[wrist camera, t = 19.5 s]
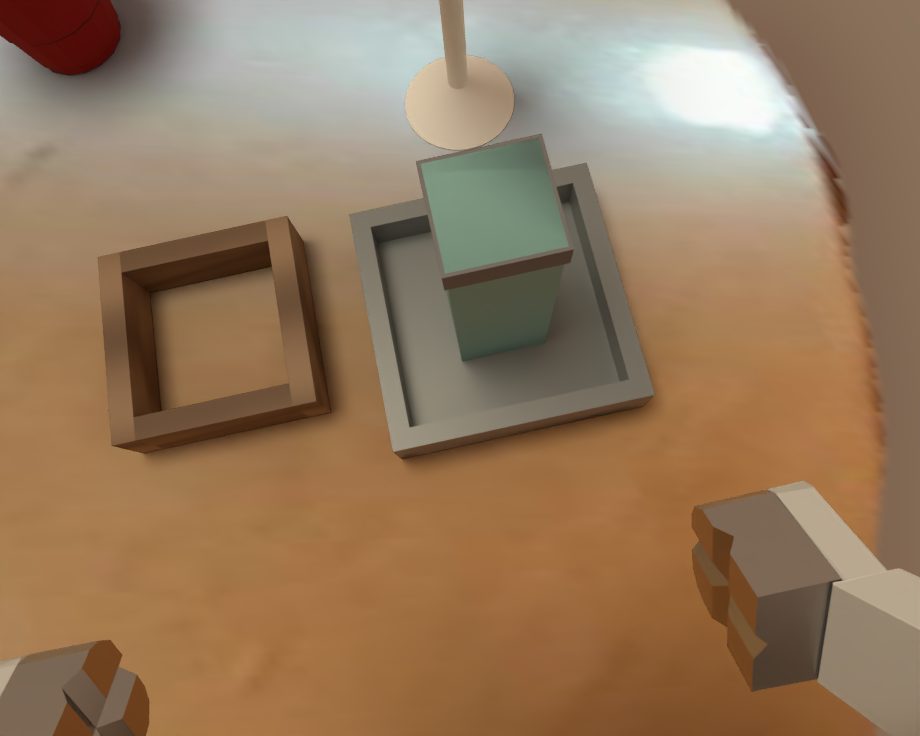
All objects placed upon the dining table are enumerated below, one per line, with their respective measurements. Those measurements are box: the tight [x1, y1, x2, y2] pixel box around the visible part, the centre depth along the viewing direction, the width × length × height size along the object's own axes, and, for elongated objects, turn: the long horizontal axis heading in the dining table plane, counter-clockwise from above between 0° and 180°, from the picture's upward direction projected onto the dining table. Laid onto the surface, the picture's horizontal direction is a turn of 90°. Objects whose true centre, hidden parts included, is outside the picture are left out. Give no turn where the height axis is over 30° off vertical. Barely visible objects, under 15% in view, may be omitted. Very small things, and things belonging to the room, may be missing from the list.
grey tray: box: [349, 163, 655, 459], centre depth 35 cm, size 13×13×3 cm
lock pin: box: [416, 134, 574, 361], centre depth 30 cm, size 5×5×12 cm
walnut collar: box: [98, 216, 331, 453], centre depth 36 cm, size 10×10×3 cm
